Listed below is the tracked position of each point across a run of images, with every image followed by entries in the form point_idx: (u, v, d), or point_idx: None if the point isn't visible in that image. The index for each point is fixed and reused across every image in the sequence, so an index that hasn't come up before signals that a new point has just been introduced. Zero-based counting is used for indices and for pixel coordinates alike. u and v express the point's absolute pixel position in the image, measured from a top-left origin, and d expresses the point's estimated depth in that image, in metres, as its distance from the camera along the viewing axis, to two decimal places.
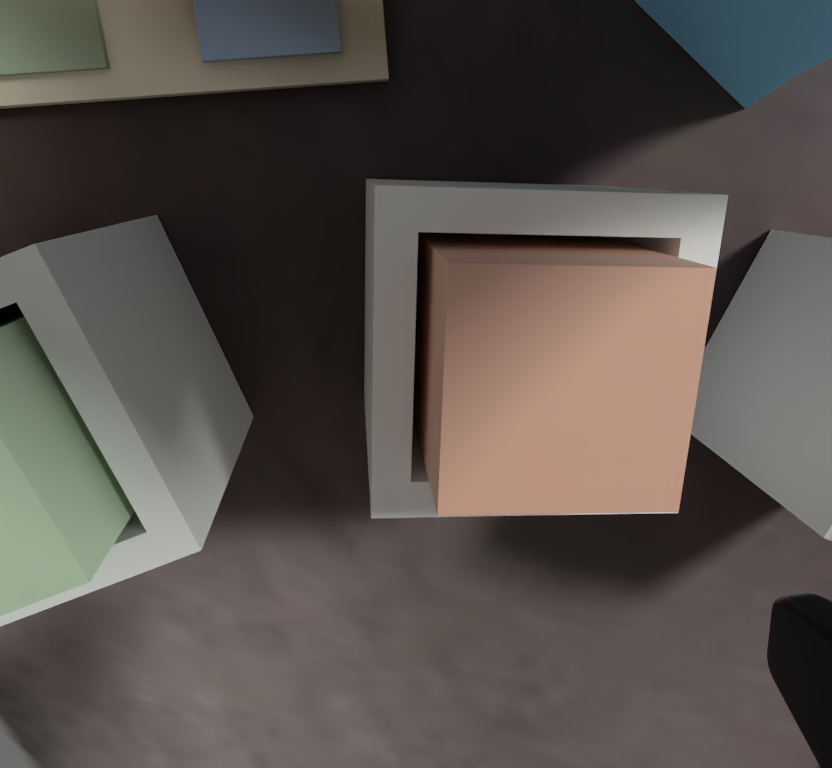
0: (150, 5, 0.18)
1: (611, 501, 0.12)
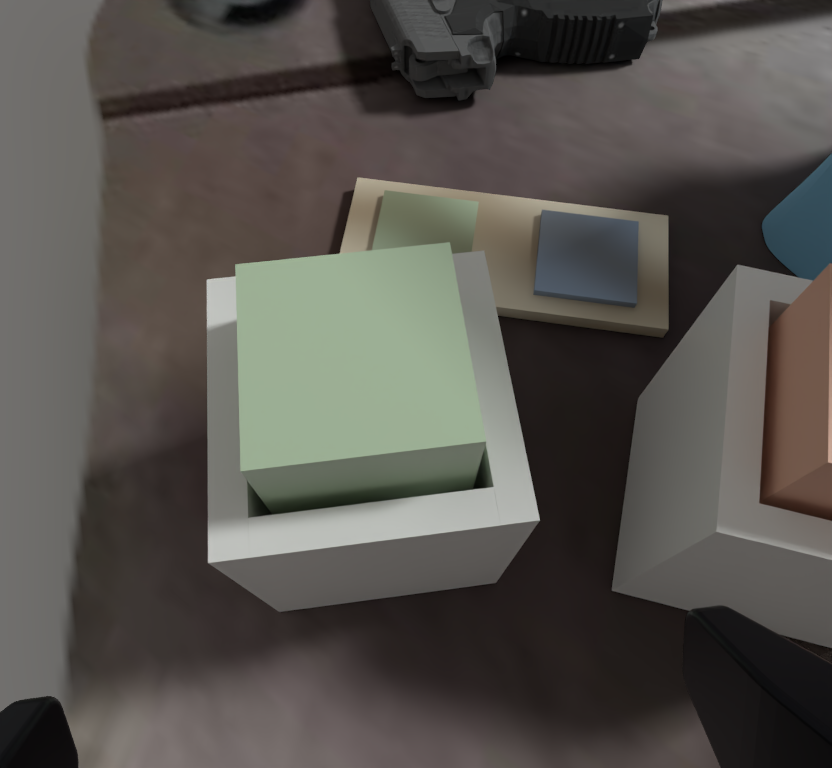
0: (506, 258, 0.25)
1: None
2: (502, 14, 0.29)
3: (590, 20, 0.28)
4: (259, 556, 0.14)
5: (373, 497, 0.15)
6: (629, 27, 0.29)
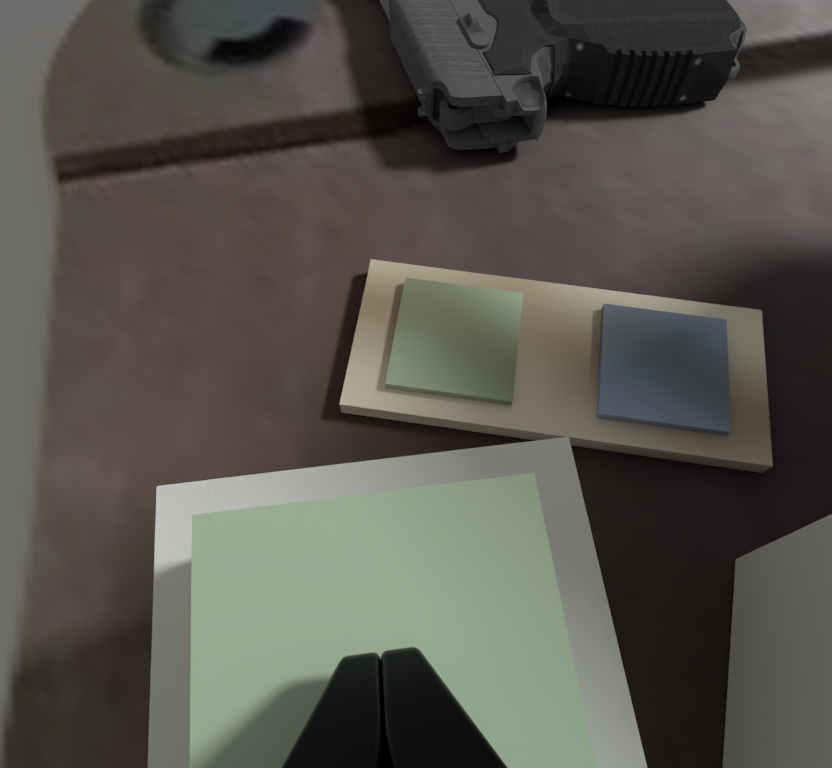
0: (560, 368, 0.20)
1: None
2: (553, 48, 0.23)
3: (661, 56, 0.23)
4: None
5: None
6: (707, 64, 0.24)
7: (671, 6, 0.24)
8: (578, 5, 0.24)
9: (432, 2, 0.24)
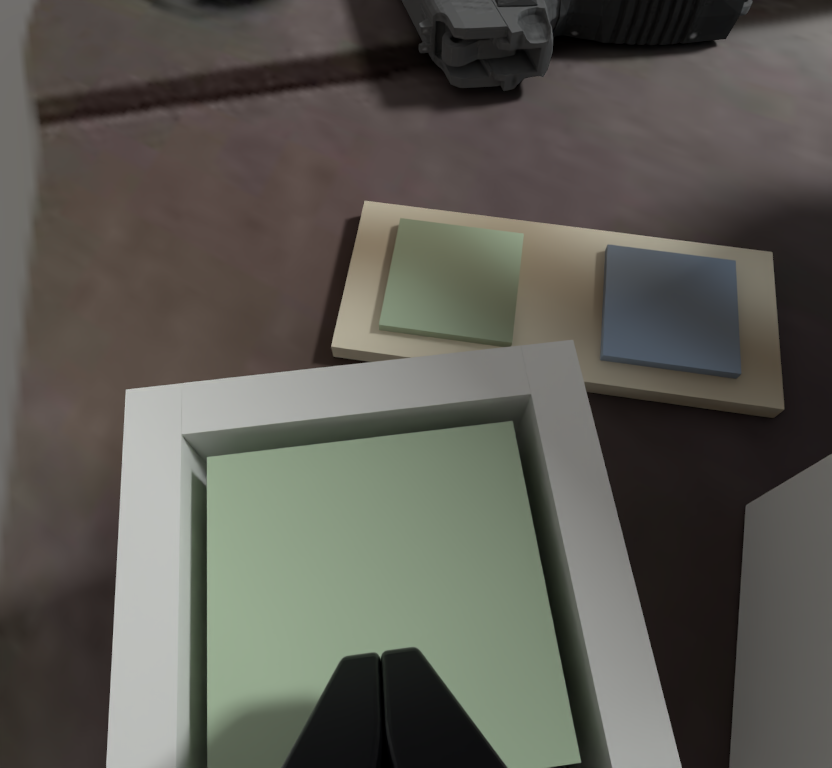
0: (562, 310, 0.19)
1: None
2: None
3: None
4: None
5: None
6: None
7: None
8: None
9: None
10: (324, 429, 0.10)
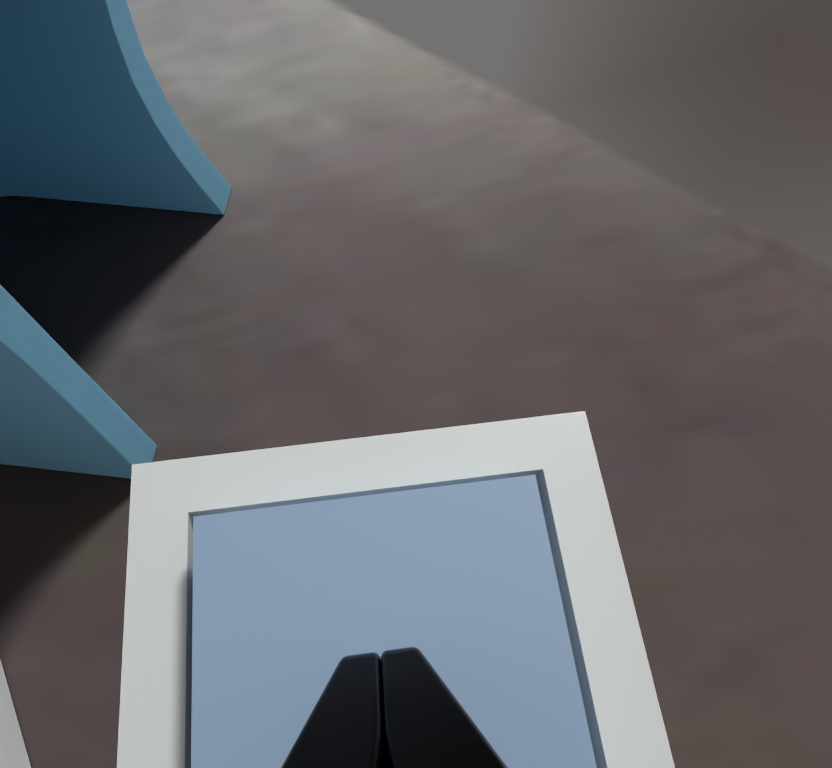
0: None
1: None
2: None
3: None
4: None
5: None
6: None
7: None
8: None
9: None
10: None
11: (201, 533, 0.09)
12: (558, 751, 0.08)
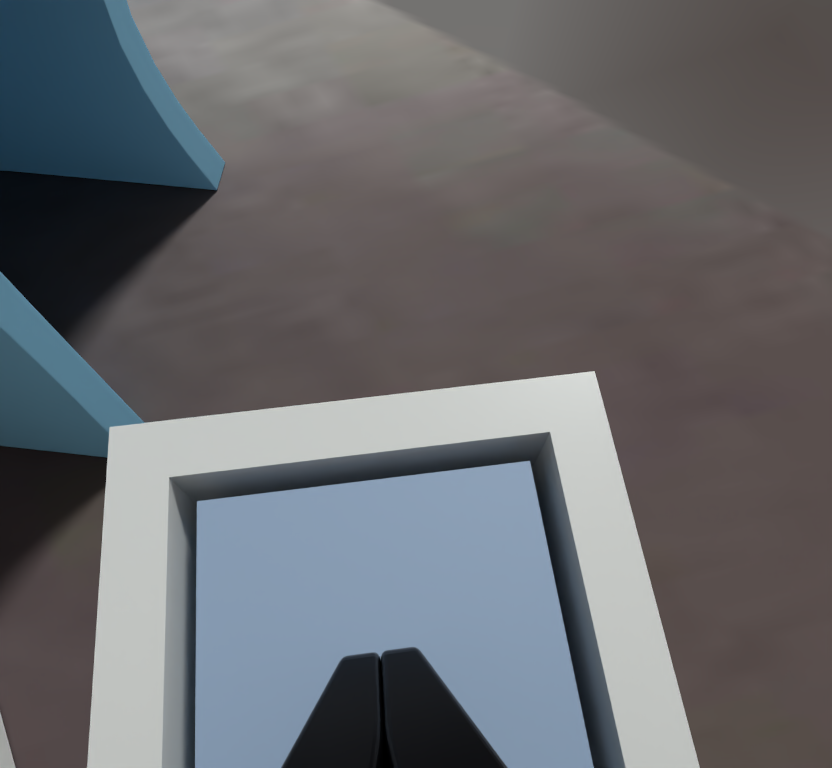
0: None
1: None
2: None
3: None
4: None
5: None
6: None
7: None
8: None
9: None
10: None
11: (205, 517, 0.09)
12: (551, 726, 0.08)
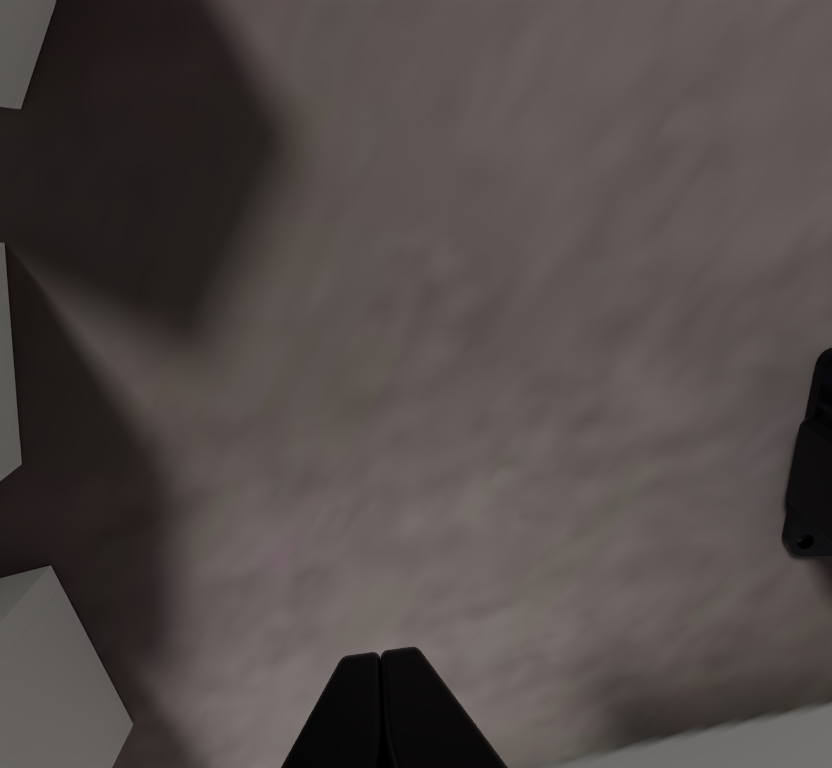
0: None
1: None
2: None
3: None
4: None
5: None
6: None
7: None
8: None
9: None
10: None
11: None
12: None
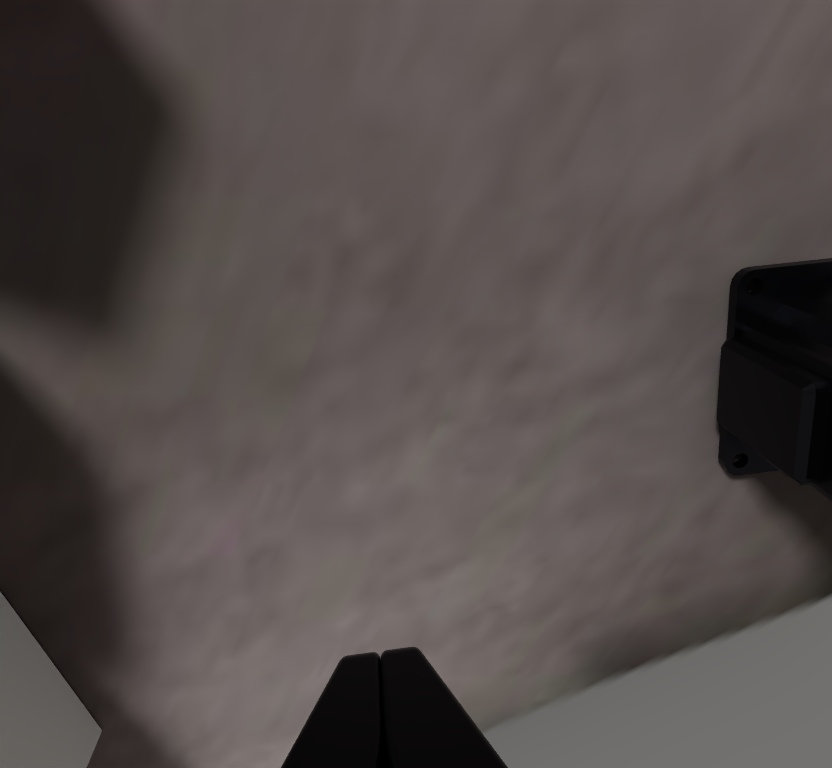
0: None
1: None
2: None
3: None
4: None
5: None
6: None
7: None
8: None
9: None
10: None
11: None
12: None
